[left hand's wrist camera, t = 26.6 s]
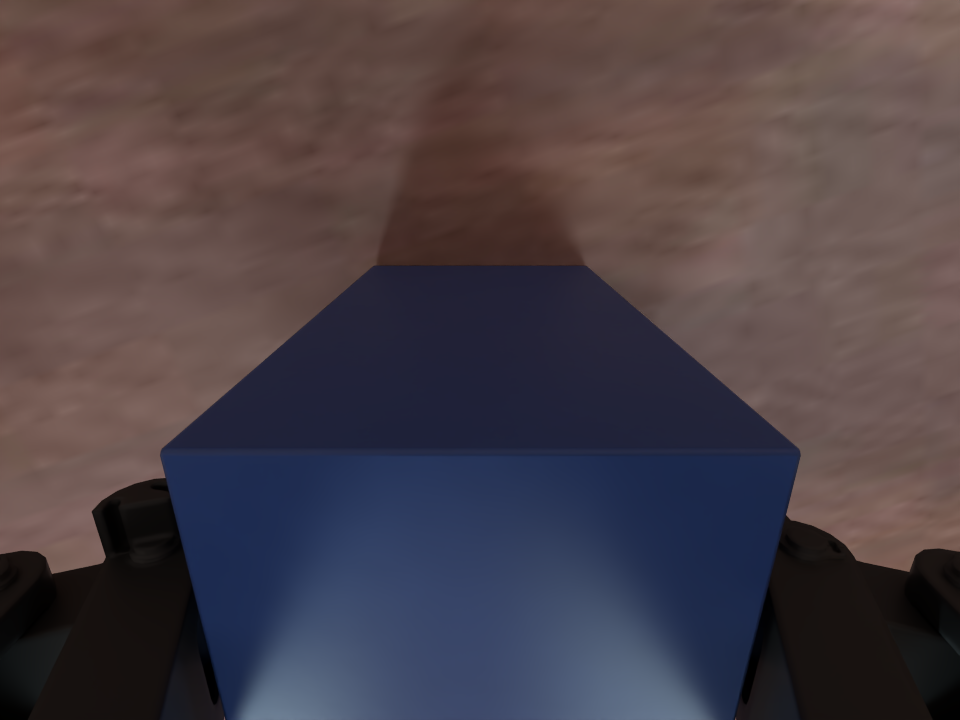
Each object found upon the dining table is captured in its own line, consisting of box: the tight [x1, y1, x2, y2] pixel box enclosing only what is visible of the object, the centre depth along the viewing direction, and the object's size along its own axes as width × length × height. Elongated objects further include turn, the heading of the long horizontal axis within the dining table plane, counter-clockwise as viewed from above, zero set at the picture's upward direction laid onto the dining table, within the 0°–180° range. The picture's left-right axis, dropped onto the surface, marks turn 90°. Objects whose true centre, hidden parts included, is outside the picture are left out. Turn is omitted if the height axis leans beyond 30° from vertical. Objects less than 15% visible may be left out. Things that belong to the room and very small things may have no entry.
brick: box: [160, 266, 801, 720], centre depth 12 cm, size 7×7×11 cm
